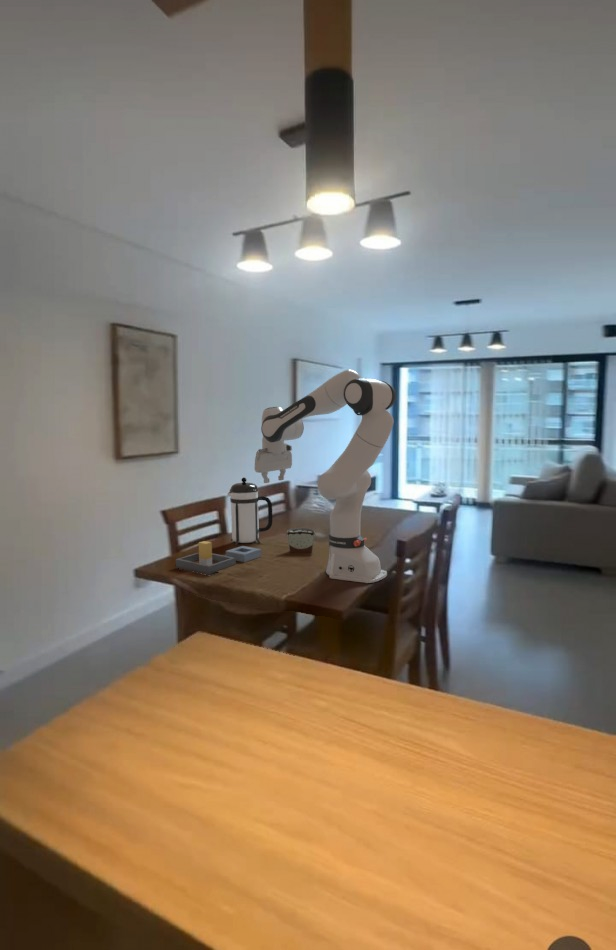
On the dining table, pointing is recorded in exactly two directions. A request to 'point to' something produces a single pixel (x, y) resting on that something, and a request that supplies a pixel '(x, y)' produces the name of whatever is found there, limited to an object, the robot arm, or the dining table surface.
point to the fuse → (205, 553)
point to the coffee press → (247, 512)
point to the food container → (300, 539)
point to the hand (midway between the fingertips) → (273, 481)
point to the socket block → (244, 553)
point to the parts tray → (189, 565)
